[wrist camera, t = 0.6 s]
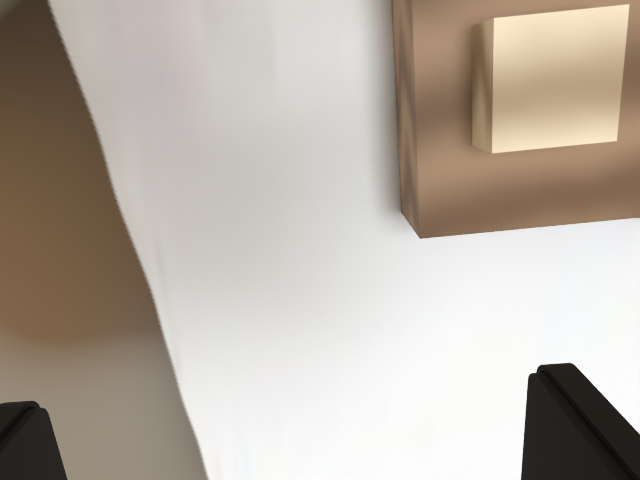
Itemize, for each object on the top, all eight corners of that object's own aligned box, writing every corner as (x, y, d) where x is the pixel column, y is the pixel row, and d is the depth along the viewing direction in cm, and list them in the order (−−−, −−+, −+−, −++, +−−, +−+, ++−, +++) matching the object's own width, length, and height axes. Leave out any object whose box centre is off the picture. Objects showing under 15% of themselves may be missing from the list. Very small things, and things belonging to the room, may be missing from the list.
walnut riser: (389, -50, 29) (409, -83, 23) (661, -78, 28) (750, -119, 23) (401, 212, 34) (419, 238, 28) (633, 189, 33) (700, 211, 28)
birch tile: (472, 25, 24) (493, 18, 22) (592, 13, 24) (629, 4, 21) (472, 145, 26) (492, 153, 23) (583, 134, 26) (616, 141, 23)
